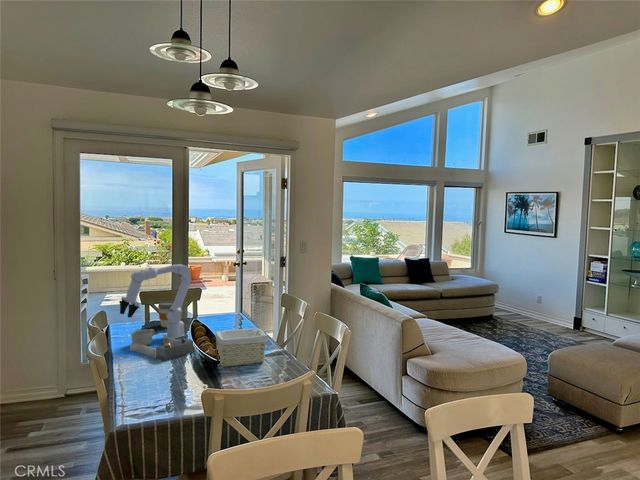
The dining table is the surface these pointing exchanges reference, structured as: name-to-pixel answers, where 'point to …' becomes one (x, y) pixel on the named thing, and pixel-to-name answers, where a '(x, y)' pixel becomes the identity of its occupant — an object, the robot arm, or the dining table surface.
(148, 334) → the teacup
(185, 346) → the motor block
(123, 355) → the dining table surface
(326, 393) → the dining table surface
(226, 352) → the storage basket
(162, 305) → the reusable coffee cup
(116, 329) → the dining table surface
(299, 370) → the dining table surface
